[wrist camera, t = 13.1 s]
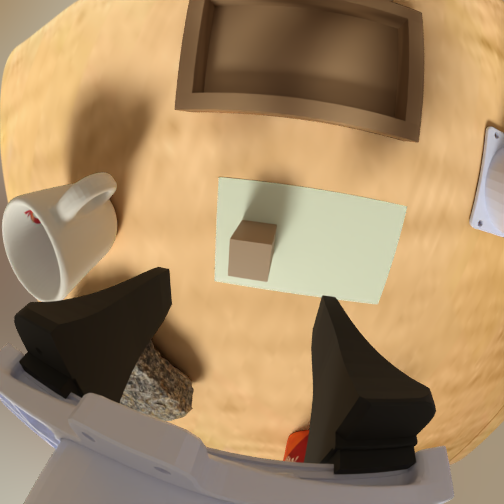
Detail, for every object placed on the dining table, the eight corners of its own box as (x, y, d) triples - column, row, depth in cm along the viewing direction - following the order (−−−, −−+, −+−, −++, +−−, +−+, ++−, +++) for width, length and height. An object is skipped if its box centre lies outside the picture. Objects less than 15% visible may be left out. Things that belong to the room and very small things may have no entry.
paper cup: (275, 427, 29) (258, 525, 16) (336, 423, 27) (334, 525, 15) (284, 450, 32) (272, 531, 19) (337, 447, 30) (333, 530, 17)
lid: (404, 204, 17) (428, 223, 13) (376, 300, 20) (388, 333, 16) (220, 176, 18) (201, 187, 14) (216, 277, 22) (199, 307, 18)
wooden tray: (405, -5, 9) (421, -24, 6) (402, 140, 15) (424, 143, 11) (210, -27, 11) (195, -49, 8) (191, 112, 16) (168, 108, 13)
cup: (114, 128, 17) (34, 139, 10) (170, 209, 19) (104, 255, 12) (55, 207, 21) (-6, 238, 14) (98, 272, 23) (44, 319, 16)
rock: (69, 306, 27) (138, 390, 32) (37, 339, 21) (118, 425, 26) (132, 283, 23) (211, 390, 28) (92, 329, 17) (194, 436, 22)
